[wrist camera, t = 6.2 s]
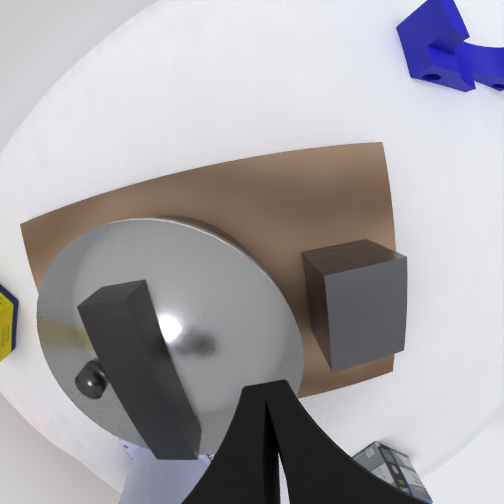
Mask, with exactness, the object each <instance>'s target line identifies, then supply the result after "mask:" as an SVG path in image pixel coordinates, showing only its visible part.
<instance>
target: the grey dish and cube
mask: <svg viewBox="0 0 504 504" xmlns="http://www.w3.org/2000/svg"><path fill="white" fill-rule="evenodd" d="M155 218H163V219H172V220H177V221H181V222H185V223H188V224H192V225H196V226H198V227H201V228H203V229H205V230H208V231H210V232H213V233H215V234H217V235H219V236H221V237H222V238H224V239H226V240H228V241H229V242H231V243H233V244H235V245H236V246H237V247H239V248H240V249H241V250H243V251H244V252H245V253H247V254H248V255H249V256H251V257H252V258H253V256H252V255H251V254H250V253H249V252H248V251H247V250H246V249H245V248H244V247H243V246H242V245H241V244H240V243H239V242H238V241H237V240H235V239H234V238H233V237H231V236H230V235H229V234H227V233H226V232H224V231H222V230H220V229H219V228H217V227H215V226H213V225H210V224H208V223H206V222H203V221H200V220H197V219H193V218H189V217H182V216H174V215H171V216H155ZM301 254H302V260H303V267H304V275H305V282H306V290H307V298H308V306H309V314H310V323H311V331H312V333H313V335H314V337H315V339H316V341H317V343H318V345H319V347H320V349H321V351H322V353H323V355H324V357H325V359H326V361H327V363H328V366H329V368H330V370H331V372H332V373H333V372H337V371H340V370H344V369H347V368H351V367H354V366H358V365H361V364H364V363H368V362H371V361H374V360H377V359H380V358H383V357H386V356H389V355H392V354H395V353H398V352H400V351H403V350H404V344H405V331H406V314H407V257H406V256H404V255H402V254H400V253H397V252H395V251H393V250H391V249H388V248H386V247H384V246H382V245H379V244H377V243H375V242H373V241H370V240H368V239H363V240H358V241H353V242H348V243H343V244H338V245H333V246H328V247H323V248H318V249H313V250H308V251H302V252H301ZM253 259H254V258H253ZM254 260H255V259H254ZM255 261H256V260H255Z"/></svg>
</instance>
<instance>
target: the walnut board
mask: <svg viewBox="0 0 504 504" xmlns="http://www.w3.org/2000/svg"><path fill="white" fill-rule="evenodd" d="M171 215H174V216H182V217H189V218H193V219H197V220H200V221H203V222H206V223H208V224H210V225H213V226H215V227H217V228H219V229H220V230H222V231H224V232H226V233H227V234H229V235H230V236H231V237H233V238H234V239H235V240H237V241H238V242H239V243H240V244H241V245H242V246H243V247H244V248H245V249H246V250H247V251H248V252H249V253H250V254H251V255H252V256H253V258H254V259H255V260H256V262H257V263H258V264H259V265H260V266H261V267H262V268H263V269H264V270H265V271H266V272H267V273H268V274H269V275H270V277H271V278H272V279H273V280H274V282H275V283H276V284H277V286H278V287H279V288H280V290H281V291H282V293H283V295H284V297H285V299H286V300H287V302H288V304H289V306H290V308H291V310H292V313H293V315H294V318H295V320H296V323H297V326H298V328H299V331H300V335H301V340H302V345H303V356H304V367H303V375H302V381H301V384H300V387H299V390H298V394H297V396H296V397H297V398H302V397H306V396H311V395H315V394H319V393H323V392H327V391H331V390H335V389H338V388H342V387H345V386H349V385H352V384H356V383H359V382H362V381H365V380H369V379H372V378H375V377H378V376H381V375H383V374H386V373H389V372H392V371H393V362H394V354H392V355H389V356H386V357H383V358H380V359H377V360H374V361H371V362H368V363H364V364H361V365H358V366H354V367H351V368H347V369H344V370H340V371H337V372H333V373H332V372H331V370H330V368H329V366H328V363H327V361H326V359H325V357H324V355H323V353H322V351H321V349H320V347H319V345H318V343H317V341H316V339H315V337H314V335H313V333H312V331H311V323H310V314H309V306H308V298H307V290H306V282H305V275H304V267H303V260H302V254H301V252H302V251H308V250H313V249H318V248H323V247H328V246H333V245H338V244H343V243H348V242H353V241H358V240H363V239H368V240H370V241H373V242H375V243H377V244H379V245H382V246H384V247H386V248H388V249H391V250H393V251H395V252H396V247H395V232H394V220H393V210H392V201H391V193H390V185H389V178H388V171H387V165H386V159H385V154H384V148H383V143H382V142H376V143H361V144H349V145H338V146H329V147H320V148H311V149H303V150H296V151H289V152H282V153H275V154H269V155H263V156H257V157H251V158H245V159H240V160H235V161H229V162H224V163H219V164H215V165H210V166H205V167H201V168H196V169H192V170H187V171H183V172H179V173H175V174H171V175H167V176H163V177H159V178H155V179H151V180H148V181H144V182H140V183H137V184H133V185H130V186H126V187H123V188H120V189H116V190H113V191H110V192H107V193H103V194H100V195H97V196H94V197H91V198H88V199H85V200H82V201H79V202H76V203H74V204H71V205H68V206H65V207H62V208H60V209H57V210H54V211H52V212H49V213H47V214H44V215H41V216H39V217H36V218H34V219H31V220H29V221H27V222H24V223H22V224H20V226H21V231H22V236H23V240H24V244H25V249H26V253H27V257H28V260H29V264H30V268H31V271H32V274H33V278H34V281H35V284H36V287H37V290H38V293H39V291H40V287H41V284H42V281H43V279H44V276H45V274H46V272H47V270H48V268H49V266H50V265H51V263H52V261H53V260H54V259H55V258H56V256H57V255H58V254H59V253H60V251H61V250H62V249H63V248H64V247H66V246H67V245H68V244H69V243H70V242H71V241H73V240H74V239H75V238H77V237H78V236H80V235H82V234H84V233H85V232H87V231H89V230H91V229H94V228H97V227H99V226H102V225H105V224H108V223H111V222H115V221H119V220H125V219H130V218H147V217H155V216H171Z"/></svg>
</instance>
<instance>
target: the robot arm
mask: <svg viewBox="0 0 504 504" xmlns="http://www.w3.org/2000/svg"><path fill="white" fill-rule="evenodd" d="M119 443H120V444H121V446H122V447H123V448H124V450H125V451H126V452H127V454H128V455H129V456H130V458H131V459H132V460H133V461H132V464H131V467H130V470H129V473H128V476H127V479H126V482H125V485H124V489H123V492H122V495H121V498H120V502H119V504H280V479H279V457H278V452H279V455H280V459H281V462H282V466H283V469H284V473H285V476H286V481H287V488H288V495H289V501H290V504H431V503H428V502H425V501H423V500H421V499H419V498H416V497H414V496H412V495H410V494H407V493H405V492H404V491H402V490H400V489H398V488H396V487H395V486H393V485H391V484H389V483H388V482H386V481H384V480H382V479H381V478H379V477H377V476H376V475H374V474H373V473H371V472H370V471H369V470H367V469H366V468H364V467H363V466H362V465H360V464H359V463H358V462H356V461H355V460H354V459H353V458H351V457H350V456H349V455H348V454H347V453H345V452H344V451H343V450H342V449H341V448H340V447H339V446H338V445H337V444H336V443H335V442H334V441H333V440H332V439H331V438H330V437H329V436H328V435H327V434H326V433H325V432H324V431H323V430H322V429H321V428H320V427H319V426H318V425H317V423H316V422H315V421H314V420H313V419H312V417H311V416H310V415H309V414H308V413H307V411H306V410H305V409H304V407H303V406H302V405H301V403H300V402H299V400H298V399H297V397H296V396H295V394H294V392H293V390H292V389H291V387H290V384H289V382H288V381H287V380H285V379H283V380H278V381H272V382H267V383H261V384H255V385H249V386H244V388H243V389H242V391H241V395H240V399H239V402H238V405H237V408H236V411H235V413H234V416H233V419H232V421H231V423H230V426H229V428H228V430H227V433H226V435H225V437H224V439H223V441H222V443H221V445H220V447H219V449H218V450H217V452H216V454H215V456H214V458H213V460H212V461H211V462H210V460H209V458H208V456H207V455H199V456H198V460H157V459H156V457H155V456H154V454H153V453H152V452H151V450H149V449H146V448H143V447H140V446H137V445H135V444H132V443H130V442H127V441H125V440H123V439H121V438H120V439H119Z"/></svg>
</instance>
